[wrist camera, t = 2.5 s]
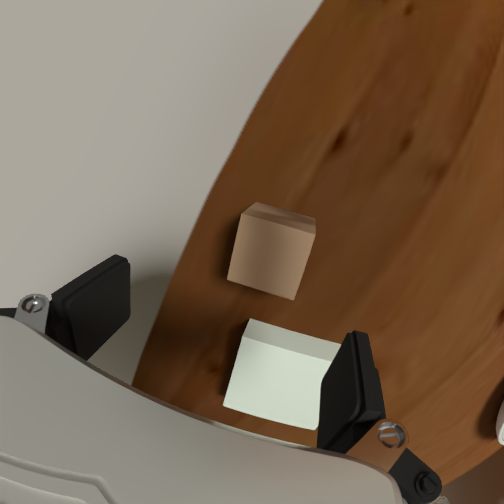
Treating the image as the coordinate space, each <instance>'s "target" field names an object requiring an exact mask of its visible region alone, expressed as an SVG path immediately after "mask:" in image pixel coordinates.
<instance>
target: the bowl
mask: <svg viewBox="0 0 504 504" xmlns="http://www.w3.org/2000/svg"><path fill="white" fill-rule="evenodd" d="M496 434H497V438H498V440H499V442H500V444H502V445H504V400H503V402H502V405H501V407H500V410H499V413H498V416H497V421H496Z"/></svg>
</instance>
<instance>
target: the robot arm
mask: <svg viewBox="0 0 504 504" xmlns="http://www.w3.org/2000/svg"><path fill="white" fill-rule="evenodd" d="M51 295H52V300H51V301H50V302H49V300H48V298H47V297H46V296H44V295H41V294H31V295H27V296H26V297H24V298H23V299H22V300H20V302H19V304H18V307H17V308H0V504H450V503H449V502H448V500H447V499H446V497H445V496H444V497H442V498H441V496H440V493H441V489H442V484H441V480H440V478H439V476H438V475H437V474H436V473H435V472H434V471H433V470H432V469H430V468H429V467H428V466H427V465H426V464H425V463H423V462H422V461H421V460H420V459H419V458H418V457H417V456H415V455H414V454H413V453H412V452H411V451H410V450H409V449H407V448H406V447H407V445H408V443H409V435H408V432H407V430H406V428H405V427H404V426H403V425H402V424H401V423H400V422H398V421H396V420H393V419H386V414H385V407H384V401H383V395H382V389H381V384H380V378H379V373H378V370H377V369H376V368H375V366H374V361H373V356H372V351H371V347H370V342H369V337H368V334H367V333H363V332H359V331H355V330H354V331H353V332H352V333H347V335H346V337H345V339H344V341H343V342H342V344H341V346H340V348H339V350H338V352H337V354H336V356H335V357H334V359H333V361H332V363H331V365H330V366H329V368H328V370H327V372H326V373H325V375H324V377H323V379H322V382H321V388H320V408H319V424H318V437H317V448H314V447H309V446H304V445H299V444H295V443H290V442H286V441H282V440H278V439H274V438H270V437H266V436H262V435H258V434H254V433H251V432H247V431H244V430H241V429H237V428H234V427H231V426H228V425H225V424H222V423H219V422H216V421H213V420H210V419H207V418H204V417H202V416H199V415H196V414H194V413H191V412H189V411H186V410H183V409H181V408H179V407H176V406H174V405H171V404H169V403H167V402H164V401H162V400H160V399H158V398H155V397H153V396H151V395H149V394H147V393H145V392H143V391H141V390H138V389H136V388H134V387H132V386H130V385H128V384H127V383H124V382H123V381H121V380H119V379H117V378H115V377H113V376H111V375H110V374H108V373H106V372H104V371H102V370H101V369H99V368H97V367H96V366H94V365H92V364H90V363H89V362H87V360H88V359H89V358H90V357H91V356H92V355H93V354H94V353H95V352H96V351H97V350H98V349H99V348H100V347H101V346H102V345H103V344H104V343H105V342H106V341H107V340H108V339H109V338H110V337H111V336H112V335H113V334H114V333H115V332H116V331H117V330H118V329H119V328H120V327H121V326H122V325H123V324H124V323H125V322H126V321H127V320H128V319H129V317H130V263H128V260H127V259H126V258H124V257H122V256H119V255H113V256H111V257H110V258H108V259H106V260H105V261H103V262H101V263H100V264H98V265H96V266H95V267H93V268H92V269H90V270H88V271H87V272H85V273H83V274H82V275H80V276H79V277H77V278H75V279H74V280H72V281H71V282H69V283H68V284H66V285H65V286H63V287H62V288H60V289H59V290H57V291H55V292H54V293H52V294H51Z"/></svg>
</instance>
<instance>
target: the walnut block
mask: <svg viewBox="0 0 504 504" xmlns="http://www.w3.org/2000/svg"><path fill="white" fill-rule="evenodd" d="M314 238H315V218H312V217H308V216H305V215H302V214H298V213H295V212H291V211H288V210H284V209H281V208H277V207H274V206H270V205H267V204H263V203H260V202H256V203H254V204H253V205H252V206H250V207H249V208H248V209H246V210H245V211H244V212H243V213H241V217H240V222H239V226H238V231H237V235H236V240H235V244H234V249H233V253H232V258H231V263H230V267H229V272H228V277H227V280H230V281H233V282H236V283H239V284H242V285H245V286H249V287H252V288H255V289H258V290H261V291H265V292H268V293H271V294H274V295H278V296H281V297H284V298H288V299H291V300H294V298H295V295H296V292H297V289H298V286H299V284H300V281H301V278H302V275H303V272H304V269H305V266H306V263H307V260H308V257H309V254H310V251H311V247H312V244H313V241H314Z"/></svg>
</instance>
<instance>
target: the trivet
mask: <svg viewBox="0 0 504 504" xmlns="http://www.w3.org/2000/svg"><path fill="white" fill-rule="evenodd" d="M340 346H341V344H338V343H334V342H330V341H326V340H322V339H319V338H315V337H311V336H308V335H304V334H301V333H297V332H294V331H290V330H287V329H283V328H280V327H277V326H273V325H270V324H267V323H264V322H260V321H257V320H254V319H251V318H250V320H249V322H248V324H247V327H246V329H245V331H244V334H243V336H242V340H241V343H240V347H239V350H238V354H237V358H236V361H235V365H234V368H233V372H232V375H231V379H230V382H229V386H228V389H227V393H226V396H225V400H224V403H223V406H226V407H229V408H232V409H235V410H238V411H241V412H244V413H248V414H251V415H254V416H258V417H261V418H265V419H269V420H272V421H276V422H280V423H284V424H289V425H293V426H297V427H302V428H306V429H311V430H315V429H316V428H317V426H318V424H319V408H320V388H321V382H322V379H323V377H324V375H325V373H326V372H327V370H328V368H329V366H330V365H331V363H332V361H333V359H334V357H335V356H336V354H337V352H338V350H339V348H340Z"/></svg>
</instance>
